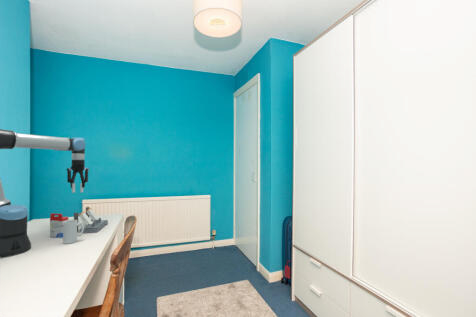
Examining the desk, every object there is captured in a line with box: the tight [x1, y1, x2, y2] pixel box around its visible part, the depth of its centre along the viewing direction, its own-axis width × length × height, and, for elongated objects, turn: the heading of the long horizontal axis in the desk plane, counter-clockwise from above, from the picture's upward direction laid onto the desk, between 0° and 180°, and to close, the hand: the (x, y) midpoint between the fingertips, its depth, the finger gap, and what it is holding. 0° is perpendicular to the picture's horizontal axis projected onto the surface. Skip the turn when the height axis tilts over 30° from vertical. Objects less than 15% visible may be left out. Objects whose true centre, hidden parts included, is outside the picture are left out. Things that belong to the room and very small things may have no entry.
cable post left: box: [73, 212, 79, 232], centre depth 150 cm, size 7×2×12 cm, turn 13°
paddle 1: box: [78, 211, 93, 226], centre depth 151 cm, size 4×2×10 cm
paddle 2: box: [85, 207, 100, 221], centre depth 162 cm, size 4×2×10 cm
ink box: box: [49, 213, 69, 239], centre depth 141 cm, size 8×5×15 cm, turn 84°
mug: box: [62, 219, 85, 245], centre depth 132 cm, size 10×7×12 cm, turn 118°
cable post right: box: [85, 206, 93, 221], centre depth 174 cm, size 11×2×12 cm, turn 13°
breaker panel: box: [79, 217, 109, 234], centre depth 158 cm, size 21×10×5 cm, turn 13°
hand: (77, 192), depth 160 cm, fingers open, 4 cm apart
